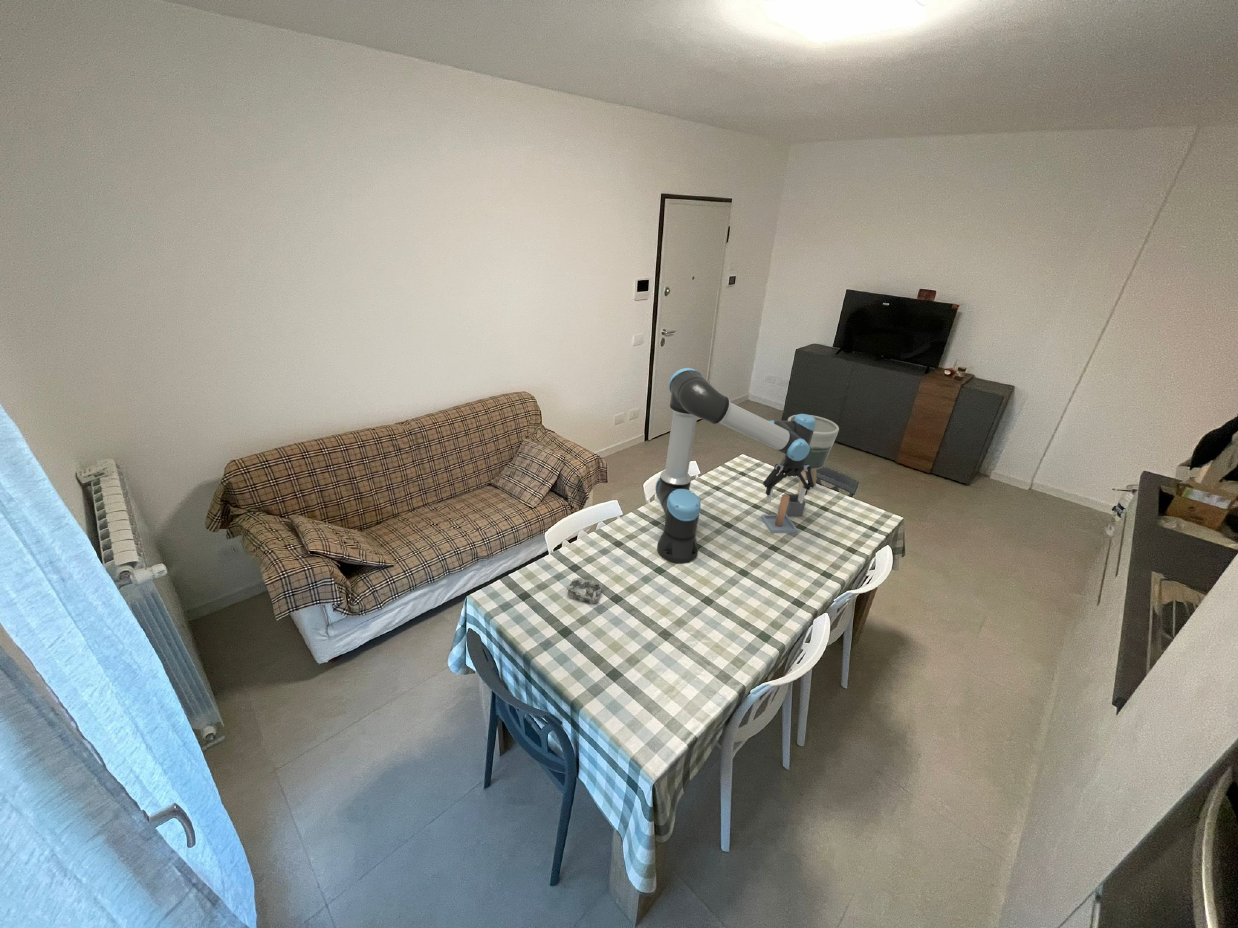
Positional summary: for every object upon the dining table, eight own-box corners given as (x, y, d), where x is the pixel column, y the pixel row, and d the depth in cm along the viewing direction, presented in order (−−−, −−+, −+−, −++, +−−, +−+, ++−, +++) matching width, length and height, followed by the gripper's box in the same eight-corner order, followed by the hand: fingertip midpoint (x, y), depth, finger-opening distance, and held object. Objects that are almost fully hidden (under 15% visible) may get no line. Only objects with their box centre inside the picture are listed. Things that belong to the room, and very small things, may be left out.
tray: (770, 534, 198) (771, 530, 197) (760, 518, 207) (761, 514, 207) (796, 533, 199) (797, 529, 198) (785, 518, 209) (786, 514, 208)
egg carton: (564, 598, 159) (564, 588, 157) (573, 583, 165) (573, 574, 163) (596, 606, 156) (596, 597, 154) (603, 591, 163) (604, 581, 161)
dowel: (776, 527, 202) (783, 498, 195) (773, 522, 204) (780, 494, 197) (783, 526, 202) (791, 498, 195) (780, 522, 205) (787, 494, 198)
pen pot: (786, 517, 209) (789, 502, 206) (779, 508, 216) (783, 494, 212) (801, 517, 210) (805, 502, 207) (794, 508, 216) (798, 494, 213)
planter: (766, 476, 242) (780, 413, 226) (807, 476, 244) (824, 414, 229) (783, 500, 223) (800, 432, 207) (828, 499, 225) (848, 433, 210)
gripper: (769, 458, 183) (757, 506, 193) (831, 459, 186) (817, 506, 196) (761, 449, 190) (751, 496, 199) (822, 450, 193) (809, 496, 203)
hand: (784, 501), depth 198 cm, fingers open, 13 cm apart
